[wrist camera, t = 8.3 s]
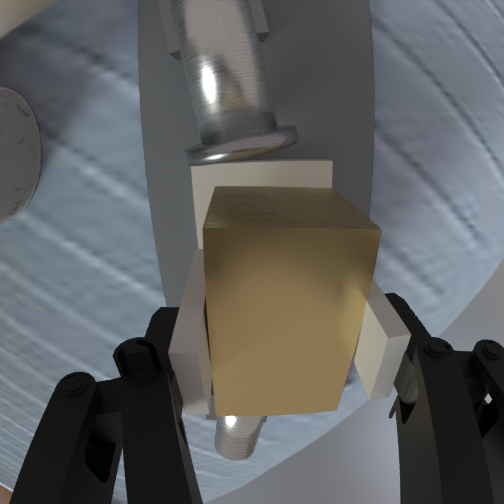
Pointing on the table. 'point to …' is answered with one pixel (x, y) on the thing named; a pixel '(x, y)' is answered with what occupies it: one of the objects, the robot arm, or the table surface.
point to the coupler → (284, 296)
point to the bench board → (285, 105)
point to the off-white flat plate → (255, 179)
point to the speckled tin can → (17, 154)
